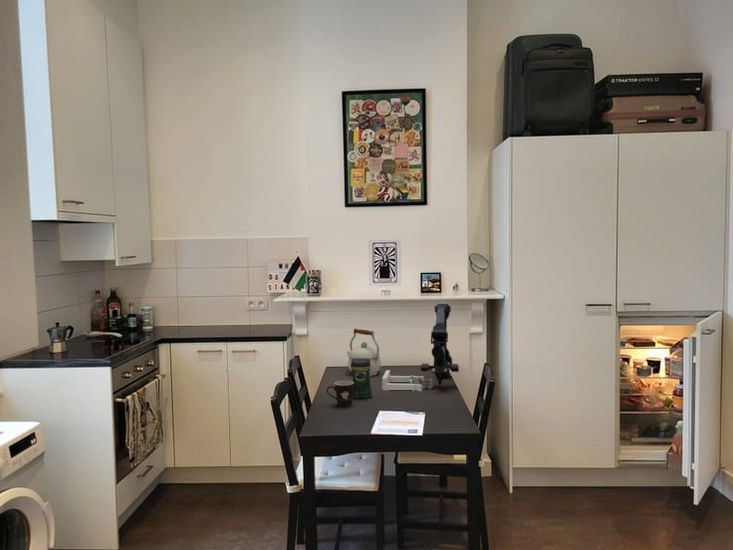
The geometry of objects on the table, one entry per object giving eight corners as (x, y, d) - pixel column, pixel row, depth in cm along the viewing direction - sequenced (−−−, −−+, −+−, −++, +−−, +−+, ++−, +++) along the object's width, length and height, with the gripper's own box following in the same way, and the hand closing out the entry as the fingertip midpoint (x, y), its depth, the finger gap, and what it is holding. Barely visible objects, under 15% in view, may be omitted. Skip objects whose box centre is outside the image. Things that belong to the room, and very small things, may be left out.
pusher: (413, 382, 276) (413, 373, 276) (412, 389, 264) (412, 379, 264) (411, 382, 276) (411, 373, 276) (409, 388, 265) (409, 379, 264)
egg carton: (416, 384, 275) (416, 376, 275) (431, 384, 275) (430, 376, 275) (418, 390, 264) (418, 382, 264) (433, 389, 264) (433, 381, 264)
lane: (424, 381, 279) (423, 370, 278) (422, 391, 261) (422, 379, 260) (386, 381, 282) (386, 369, 281) (382, 390, 264) (382, 378, 263)
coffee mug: (356, 402, 245) (356, 381, 244) (350, 408, 237) (349, 386, 236) (333, 400, 249) (332, 379, 248) (326, 406, 240) (325, 384, 240)
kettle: (390, 373, 298) (389, 329, 296) (367, 380, 285) (366, 334, 283) (358, 367, 315) (357, 325, 314) (335, 373, 302) (334, 329, 301)
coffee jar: (372, 394, 258) (371, 356, 257) (371, 399, 250) (370, 360, 249) (352, 394, 259) (351, 356, 258) (350, 399, 251) (349, 360, 250)
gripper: (419, 357, 261) (420, 388, 262) (458, 357, 258) (459, 389, 259) (421, 352, 272) (421, 382, 273) (458, 352, 269) (458, 383, 270)
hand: (439, 384), depth 268 cm, fingers closed
